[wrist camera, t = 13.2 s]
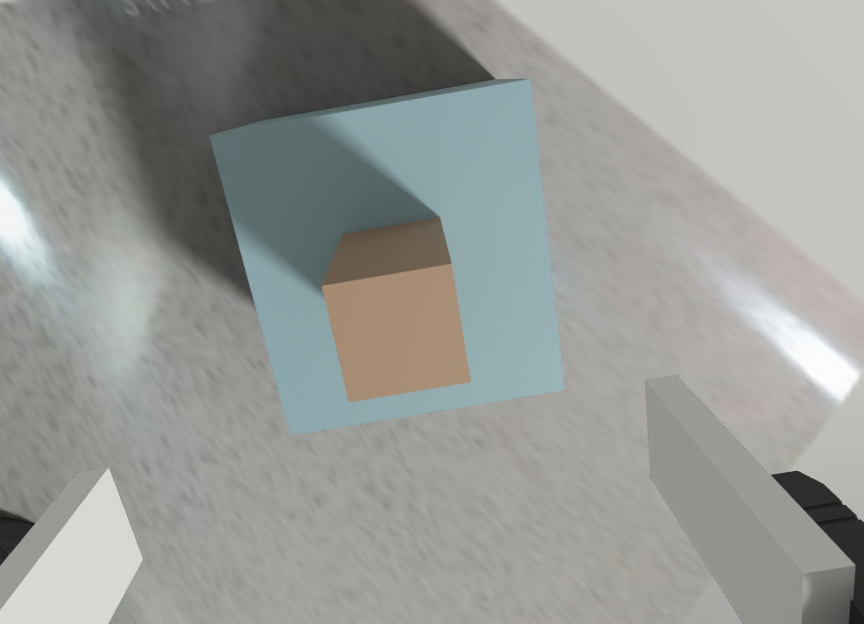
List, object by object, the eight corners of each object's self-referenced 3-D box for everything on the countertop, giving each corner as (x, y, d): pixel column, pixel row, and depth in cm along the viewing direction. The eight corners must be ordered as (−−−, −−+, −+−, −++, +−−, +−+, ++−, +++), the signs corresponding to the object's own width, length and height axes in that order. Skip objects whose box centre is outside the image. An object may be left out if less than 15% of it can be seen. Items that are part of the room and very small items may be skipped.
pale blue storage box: (318, 348, 49) (256, 540, 29) (263, 120, 44) (137, 155, 23) (525, 313, 49) (612, 482, 28) (495, 79, 44) (576, 78, 23)
